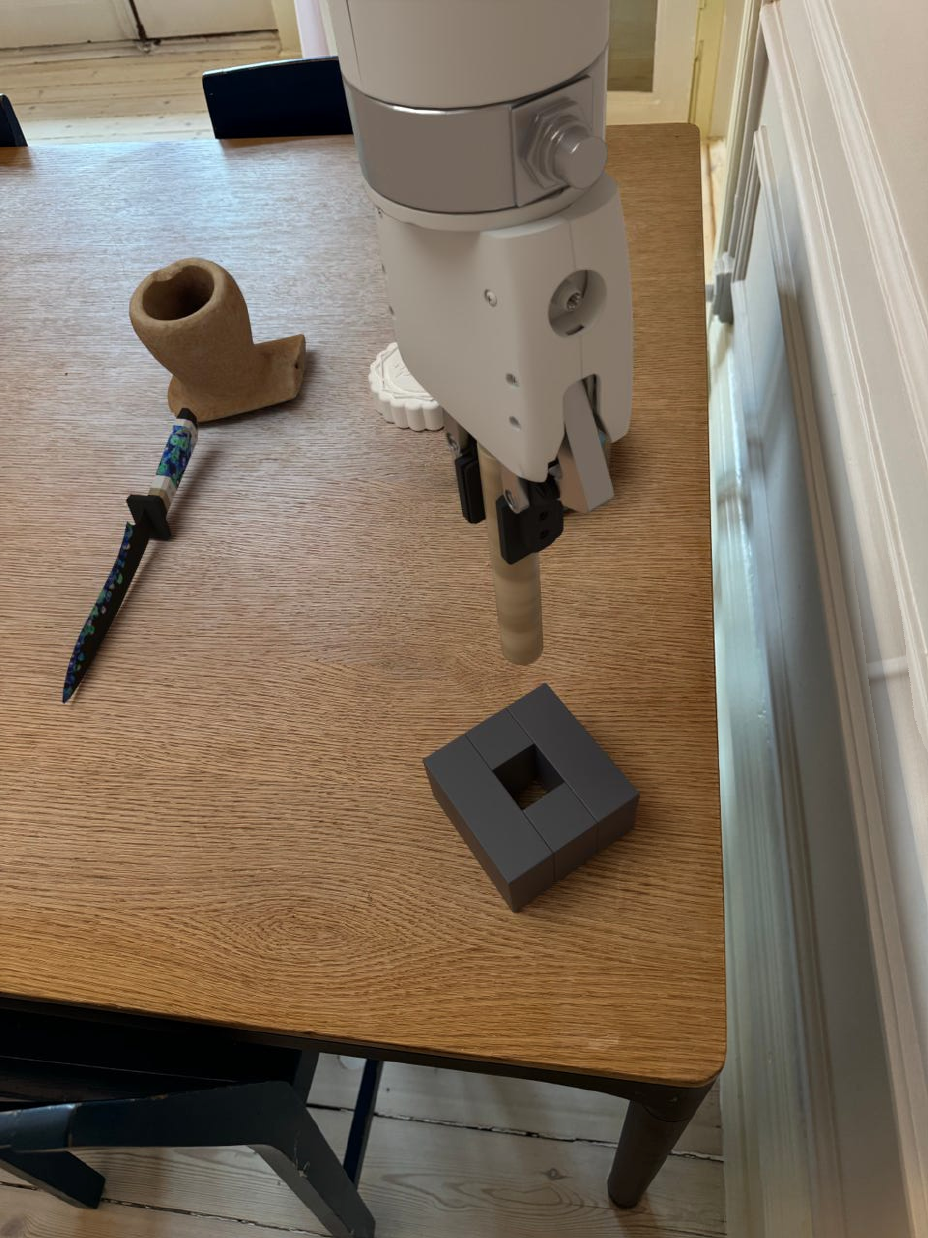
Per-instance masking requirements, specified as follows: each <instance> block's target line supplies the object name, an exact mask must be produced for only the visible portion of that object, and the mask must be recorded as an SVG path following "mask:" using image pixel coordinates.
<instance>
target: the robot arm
mask: <svg viewBox="0 0 928 1238" xmlns="http://www.w3.org/2000/svg"><path fill="white" fill-rule="evenodd" d="M326 2H327V5H328V11H329V15H330V20H331V26H332V30H333V37H334V41H335V46H336V47H335V48H336V52H337V57H338V62H339V68H340V73H341V76H342V83H343V88H344V93H345V97H346V102H347V103H346V104H347V107H348V113H349V118H350V122H351V127H352V133H353V138H354V143H355V148H356V153H357V156H358V157H357V159H358V163H359V167H360V172H361V178H362V182H363V189H364V192H365V194H366V196H367V198H368V200H369V201H370V202H371V203H372V204H373V206H374V216H375V224H376V233H377V242H378V248H379V256H380V264H381V270H382V276H383V282H384V288H385V294H386V300H387V301H386V302H387V305H388V306H387V307H388V311H389V315H390V322H391V326H392V330H393V333H394V337H395V342H397V345H398V349H399V352H400V355H401V358H402V360H403V362H404V364H405V366H406V367H407V369H408V371H409V372H410V373H411V375H412V376H413V377H414V379H415V380H416V381H417V382H418V383H419V384H420V385H421V386H422V387H423V388H424V390H425V391H426V392H427V393H428V394H430V395H431V396H432V397H433V398H434V399H435V400H436V401H437V402H438V403H439V404H440V405H441V409H442V416H443V424H444V426H443V430H444V437H445V440H446V443H447V445H448V447H449V449H450V451H451V450H452V451H453V452H454V453H455V454H457V455H459V454H461V453H462V456H460V457H459V458H457V459H455V460H454V462H455V469H456V474H455V476H456V483H457V489H458V494H459V501H460V507H461V514H462V517H463V518H464V519H465V520H466V521H467V522H468V523H469V524H470V525H478V524H480V523H482V522H483V521H486V516H485V508H484V499H483V491H482V483H481V474H480V466H479V458H478V449H477V441H478V442H479V443H480V444H481V445H482V446H483V447H485V448H486V449H487V450H488V451H489V452H490V453H491V454H492V455H493V456H494V457H495V458H496V459H498V460H499V463H500V471H501V479H502V487H503V495H501V496H500V497H499V498H498V499H497V500H496V501H495V504H496V514H497V523H498V533H499V542H500V552H501V557H502V558H503V559H504V560H505V561H506V562H507V563H508V564H509V565H513V564H515V563H516V562H518V561H520V560H521V559H523V558H525V557H526V556H528V555H530V554H532V553H538V552H539V553H540V552H542V551H543V550H545V549H547V548H549V547H550V546H551V545H553V544H554V542H555V541H556V540H557V539H558V538H560V536H561V535H562V534H563V532H564V530H565V529H564V528H565V527H564V526H565V524H564V511H563V505H564V506H566V507H568V508H570V510H573V511H576V512H577V513H580V514H582V515H588V514H590V513H591V512H594V511H595V510H597V509H599V508H600V507H602V506H603V505H605V504H607V503H608V502H610V501H612V500H613V499H614V498H615V491H614V486H613V483H612V479H611V476H610V475H611V474H610V471H609V469H608V468H607V464H606V460H605V456H604V453H603V449H602V445H601V442H600V438H599V434H598V433H600V434H601V435H602V436H603V437H604V438H606V439H607V440H608V441H609V442H610V443H611V444H614V443H615V442H617V441H618V440H620V439H621V438H624V437H625V436H626V435H627V434H628V432H629V428H630V424H631V417H632V409H633V408H632V406H633V392H634V391H633V388H634V387H633V386H634V313H633V289H632V277H631V265H630V264H631V263H630V254H629V244H628V239H627V230H626V223H625V218H624V217H625V216H624V211H623V207H622V206H623V205H622V201H621V196H620V190H619V185H618V182H617V181H616V179H614V178H613V177H612V176H611V175H610V174H609V173H607V171H605V168H606V165H607V164H608V163H607V162H608V155H609V150H608V146H607V142H606V135H607V133H606V131H607V101H608V77H609V74H608V73H609V38H610V19H611V18H610V15H611V0H327V1H326Z"/></svg>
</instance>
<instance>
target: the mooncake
mask: <svg viewBox="0 0 928 1238" xmlns="http://www.w3.org/2000/svg"><path fill="white" fill-rule="evenodd" d="M369 371H370V373H369V374H368V375H367V381H368V385H369V389H370V395H371V397H372V401H373V403H374V408H375V410H376V412H377V413H379V414H380V415H382V418H383V419H384V420H385V421H386V422H388V423H394V424H395V426H396V427H398V428H400V429H408V428H409V429H410V430H412V431H415V432H421V431H424V430H426V429H427V430H428V431H438V430H440V429H442V428H444V424H443V416H442V409H441V405H440V404H439V403H438V402H437V401H436V400H435V399H434V398H433V397H432V396H431V395H430V394H428V393H427V392H426V391H425V390H424V388H423V387H422V386H421V385H420V384H419V383H418V382H417V381H416V380H415V379H414V377H413V376H412V375H411V373H410V372H409V371H408V369H407V367H406V366H405V364H404V362H403V360H402V358H401V355H400V352H399V349H398V345H397V342H396V341H393V342H391V343H389V344H388V345H387V346H386V348H385V349H383V350H381V351H379V352H378V353H377V354H376V357H375V360H374V361H372V363H371V364H370V365H369Z"/></svg>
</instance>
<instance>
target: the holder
mask: <svg viewBox="0 0 928 1238" xmlns="http://www.w3.org/2000/svg"><path fill="white" fill-rule="evenodd" d="M422 764H423V767H424V770H425V773H426V777H427V780H428V783H429V786H430V789H431V792H432V796H433V798H434V799H435V801H436V802H437V803H438V805H439V807H440V808H441V810H442V811H443V812H444V814H445V815H446V817H447V818H448V820H449V821H450V823H451V824H452V825H453V827H454V828H455V830H456V831H457V833H458V835H459V836H460V837H461V839H462V841H464V843H465V845H466V846H467V847H468V849H469V850H470V852H471V854H472V855H473V856H474V858H475V859H476V861H477V862H478V864H479V865H480V867H481V868H482V869H483V871H484V873H485V874H486V876H487V877H488V878H489V880H490V882H491V883H492V884H493V885H494V887H495V889H496V890H497V892H498V893H499V895H500V896H501V898H502V899H503V901H504V902H505V904H506V905H507V906H508V907H509V909H510V911H511V912H512V913H513V914H514V913H516V912H518V911H519V910H520V909H522V908H523V907H525V906H526V905H528V904H530V903H531V902H532V901H533V900H535V899H536V898H537V897H539V896H540V895H542V894H543V893H544V892H547V890H549V889H551V888H552V887H553V886H554V885H556V884H558V883H559V882H561V881H562V880H564V879H565V878H566V877H568V876H569V875H570V874H572V873H573V872H575V871H577V870H578V869H579V868H580V867H582V866H583V865H585V864H586V863H587V862H589V861H590V860H592V859H593V858H595V857H596V856H598V855H599V854H600V853H602V852H603V851H604V850H606V849H607V848H609V847H610V846H612V845H613V844H614V843H616V842H618V840H620V839H622V838H623V837H625V836H626V835H627V834H629V833H630V832H632V831H633V830H634V829H635V826H636V820H637V814H638V808H639V802H640V795H641V792H640V791H639V790H638V789H637V788H636V786H635V785H634V784H633V783H632V782H631V780H629V778H628V777H627V776H626V775H625V774H624V772H622V770H621V769H620V768H619V767H618V766H617V764H616V763H615V762H614V761H613V759H612V758H611V757H610V755H608V753H606V751H605V750H604V749H603V748H602V746H601V745H600V744H599V743H598V742H597V741H596V739H595V738H594V737H593V736H592V735H591V734H590V733H589V732H588V730H587V729H586V728H585V727H584V725H582V723H581V722H580V721H579V719H577V718H576V716H575V715H574V713H572V711H571V710H570V709H569V708H568V707H567V706H566V704H565V703H564V702H563V701H562V700H561V698H560V697H559V696H558V695H557V694H556V693H555V692H554V690H553V689H552V688H551V687H550V686H549V685H548V684H547V682H544V683H542V684H540V685H539V686H538V687H536V688H534V689H532V690H531V691H529V692H527V693H526V694H525V695H523V696H521V697H520V698H519V699H517V700H515V701H514V702H512V703H510V704H509V705H508V706H506V707H504V708H501V710H499V711H496V712H495V713H493V714H492V715H490V717H488V718H486V719H485V720H482V721H481V722H480V723H478V724H476V725H475V726H473V727H472V728H470V729H469V730H467V731H465V732H464V733H462V734H461V735H459V736H458V737H456V738H455V739H453V740H451V741H449V742H448V743H447V744H445V745H443V746H442V747H440V748H439V749H437V750H435V751H434V752H433V753H430V754H429V755H427V756H426V757H424V758H422ZM536 782H537V783H538V784H539V785H540V786H541V788H542V790H544V792H545V793H546V794H545V795H543V796H542V797H540V798H539V799H538V800H536V801H534V802H533V803H532V804H530V805H528V806H527V807H526V808H524V809H521V807H520V806H519V804H518V803H517V802H516V801H515V799H514V798H513V797H514V796H516V795H518V794H519V793H520V792H522V791H523V790H525V789H527V788H528V787H530V786H531V785H534V783H536Z"/></svg>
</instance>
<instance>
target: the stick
mask: <svg viewBox="0 0 928 1238" xmlns="http://www.w3.org/2000/svg"><path fill="white" fill-rule="evenodd" d="M477 449H478V458H479V466H480V474H481V483H482V491H483V499H484V508H485V516H486V519H485V524H486V532H487V533H486V534H487V539H488V548H489V557H490V565H491V573H492V581H493V590H494V598H495V606H496V607H495V608H496V614H497V615H496V616H497V623H498V631H499V640H500V647H501V648H500V649H501V653H502V655H503V658H505V660H506V661H508V662H509V663H510V664H512V665H516V666H529V665H532V664H534V663H536V662H537V661H538V660H539V659H540V658H541V657H542V655H543V653H544V648H545V647H544V628H543V626H544V625H543V606H542V586H541V583H542V582H541V564H540V552H538V553H532V554H530V555H528V556H526V557H525V558H523V559H521V560H520V561H518V562H516V563H515V564H513V565H509V564H508V563H507V562H506V561H505V560H504V559H503V558H502V557H501V552H500V542H499V533H498V523H497V514H496V504H495V501H496V500H497V499H498V498H499V497H500V496H501V495H503V487H502V479H501V471H500V463H499V460H498V459H496V458H495V457H494V456H493V455H492V454H491V453H490V452H489V451H488V450H487V449H486V448H485V447H483V446H482V445H481V444H480V443H479V442H478V441H477Z"/></svg>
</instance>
